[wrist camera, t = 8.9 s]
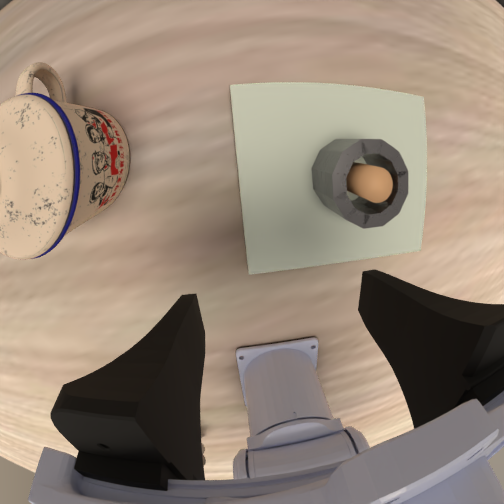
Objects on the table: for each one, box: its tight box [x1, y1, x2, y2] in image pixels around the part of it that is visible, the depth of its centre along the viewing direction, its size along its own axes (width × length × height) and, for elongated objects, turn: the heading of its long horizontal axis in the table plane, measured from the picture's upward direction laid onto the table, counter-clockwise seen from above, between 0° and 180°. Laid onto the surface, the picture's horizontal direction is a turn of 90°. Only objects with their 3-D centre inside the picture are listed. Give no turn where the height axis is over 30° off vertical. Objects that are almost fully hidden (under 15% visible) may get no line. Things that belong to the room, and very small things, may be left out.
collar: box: [311, 139, 408, 229], centre depth 17 cm, size 6×6×4 cm
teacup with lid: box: [0, 62, 130, 260], centre depth 12 cm, size 12×9×12 cm
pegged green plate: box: [230, 82, 427, 275], centre depth 17 cm, size 14×16×6 cm
